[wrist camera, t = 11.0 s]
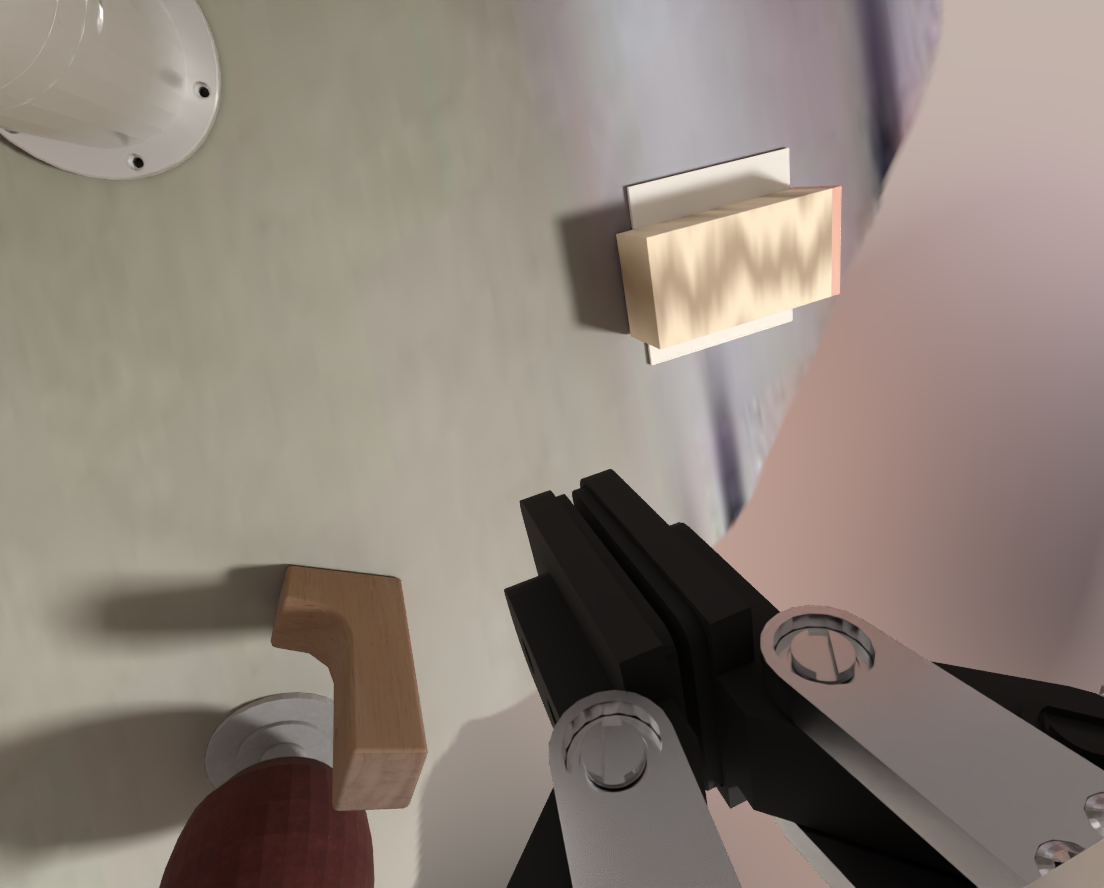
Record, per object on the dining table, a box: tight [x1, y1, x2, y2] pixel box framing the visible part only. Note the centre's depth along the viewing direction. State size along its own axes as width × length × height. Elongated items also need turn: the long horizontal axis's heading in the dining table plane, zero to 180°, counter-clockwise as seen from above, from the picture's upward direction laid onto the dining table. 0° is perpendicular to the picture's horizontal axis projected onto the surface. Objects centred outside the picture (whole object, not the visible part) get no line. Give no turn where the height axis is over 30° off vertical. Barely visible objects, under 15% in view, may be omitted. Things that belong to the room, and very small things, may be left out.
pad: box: [627, 148, 792, 365], centre depth 48 cm, size 14×14×1 cm
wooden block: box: [271, 566, 428, 811], centre depth 40 cm, size 9×4×18 cm, turn 70°
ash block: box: [616, 186, 841, 350], centre depth 45 cm, size 8×5×16 cm
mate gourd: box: [159, 692, 374, 888], centre depth 43 cm, size 16×14×20 cm
